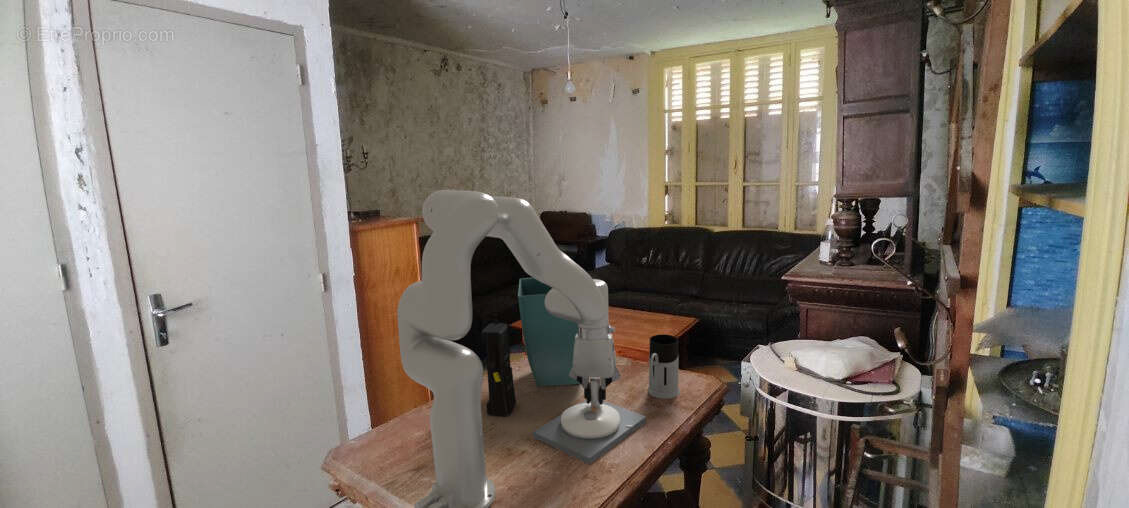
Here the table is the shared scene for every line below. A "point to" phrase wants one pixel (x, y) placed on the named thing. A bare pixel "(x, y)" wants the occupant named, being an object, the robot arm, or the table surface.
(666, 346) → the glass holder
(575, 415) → the white round dome
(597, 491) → the table surface
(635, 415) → the stand
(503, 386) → the portable radio
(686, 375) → the table surface
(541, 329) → the flower pot
